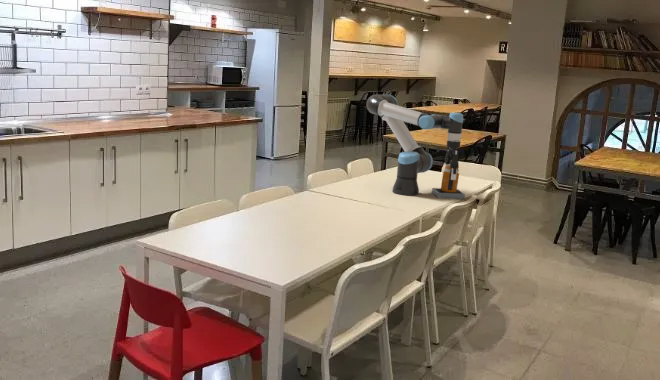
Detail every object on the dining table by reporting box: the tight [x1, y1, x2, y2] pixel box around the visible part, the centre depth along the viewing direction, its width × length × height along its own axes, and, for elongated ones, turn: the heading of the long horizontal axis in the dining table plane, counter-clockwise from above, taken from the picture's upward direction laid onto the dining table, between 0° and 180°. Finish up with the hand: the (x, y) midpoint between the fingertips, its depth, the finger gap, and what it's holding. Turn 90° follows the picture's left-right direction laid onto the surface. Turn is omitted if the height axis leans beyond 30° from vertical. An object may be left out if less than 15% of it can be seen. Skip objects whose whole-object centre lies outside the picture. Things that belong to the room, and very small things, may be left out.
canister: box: [440, 159, 460, 193], centre depth 353 cm, size 9×11×20 cm
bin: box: [431, 187, 466, 200], centre depth 355 cm, size 16×14×3 cm
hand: (449, 177), depth 353 cm, fingers open, 13 cm apart
